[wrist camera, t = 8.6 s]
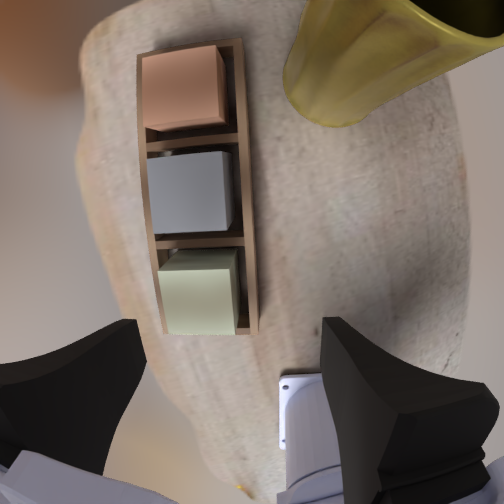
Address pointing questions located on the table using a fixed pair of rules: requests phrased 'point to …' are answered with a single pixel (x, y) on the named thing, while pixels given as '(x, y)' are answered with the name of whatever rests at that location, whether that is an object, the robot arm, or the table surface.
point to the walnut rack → (189, 118)
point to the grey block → (191, 192)
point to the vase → (381, 51)
